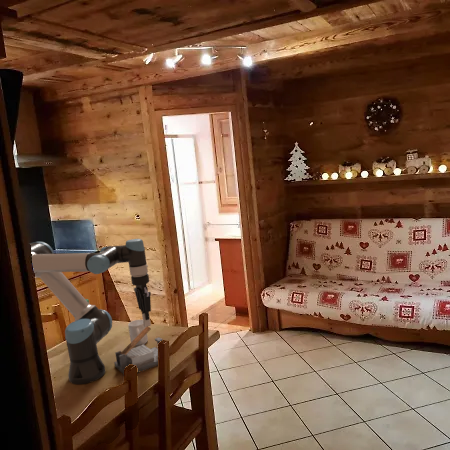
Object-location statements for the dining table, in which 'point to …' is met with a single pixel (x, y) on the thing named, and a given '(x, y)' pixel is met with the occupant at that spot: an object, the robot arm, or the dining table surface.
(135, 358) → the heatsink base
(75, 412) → the dining table surface
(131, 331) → the mug
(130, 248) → the robot arm
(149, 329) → the brown wooden strip
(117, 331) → the dining table surface
